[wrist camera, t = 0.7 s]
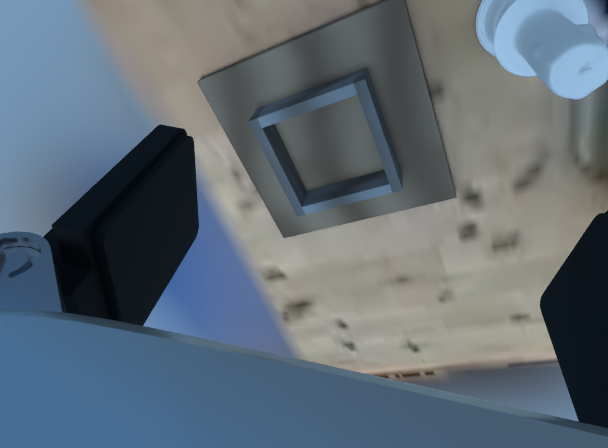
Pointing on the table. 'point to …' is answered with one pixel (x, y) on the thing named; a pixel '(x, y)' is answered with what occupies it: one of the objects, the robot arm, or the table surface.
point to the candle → (545, 43)
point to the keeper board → (335, 122)
